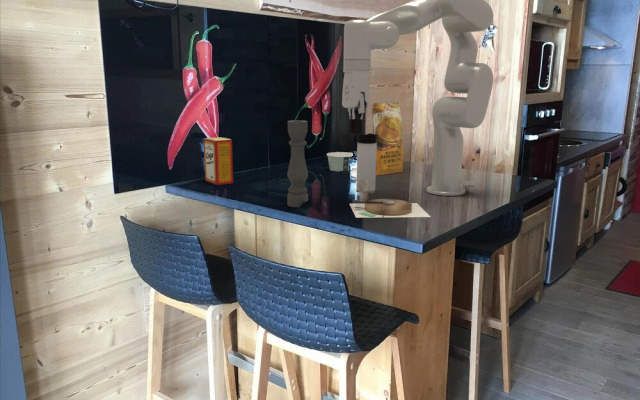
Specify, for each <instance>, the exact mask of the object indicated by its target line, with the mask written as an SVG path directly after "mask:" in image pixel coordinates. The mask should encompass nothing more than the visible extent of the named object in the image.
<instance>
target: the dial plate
mask: <svg viewBox="0 0 640 400" xmlns="http://www.w3.org/2000/svg"><path fill="white" fill-rule="evenodd" d="M410 203H411V202H410ZM411 204H412V211H411V212H410V213H407V214H402V215H381V214H375V213H371V212H368V211H366V210H365V203H349V206H350V208H351V210H352V213H353V214H354V217H355V218H357V219H358V218H359V219H360V218H371V219H373V218H431V215H430V214H429V213H428V212H426V210H424V209H423V207H421V206H420V205H419V204H418V203H417V202H412V203H411Z"/></svg>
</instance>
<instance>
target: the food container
mask: <svg viewBox="0 0 640 400" xmlns="http://www.w3.org/2000/svg"><path fill="white" fill-rule="evenodd" d="M326 156H327V159H328V160H327V161H328V166H329V167H328V168H329V170H330V171H333V172H340V171H344V172H350V171H349V159H350V157H352V156H353V152H343V151H341V152H340V151H336V152H333V151H332V152H328V153H326Z"/></svg>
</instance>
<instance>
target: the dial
mask: <svg viewBox="0 0 640 400" xmlns="http://www.w3.org/2000/svg"><path fill="white" fill-rule="evenodd" d="M358 193H359V194H358V195H359V196H358V197H359V198H358V199H352V203H357V204H360V203H365V210H366V211H368V212H371V213H375V214H381V215H402V214H407V213H410V212H411V211H412V204H411V202H409V201H407V200H402V199H395V198H376V199H370V200H369V196H368V195H369V193H368V179H360V186H359V192H358Z"/></svg>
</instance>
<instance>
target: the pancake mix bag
mask: <svg viewBox="0 0 640 400" xmlns="http://www.w3.org/2000/svg"><path fill="white" fill-rule="evenodd" d="M371 117H372V131H373V132H372V133H373V134H377V140H376V143H377V144H376V145H377V147H376V176H386V175H393V174H399V173H400V174H401V173H403V171H404V167H403V165H404V164H403V163H404V162H403V161H404V124H403V117H402V108H401V104H400V103H399V102H374V103H373V104H372V105H371Z"/></svg>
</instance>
